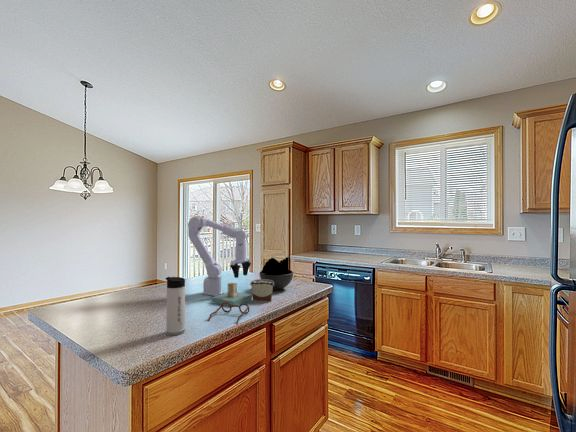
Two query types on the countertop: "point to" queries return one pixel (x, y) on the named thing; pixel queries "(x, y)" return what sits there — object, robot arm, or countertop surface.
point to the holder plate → (232, 299)
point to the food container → (262, 290)
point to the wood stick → (232, 290)
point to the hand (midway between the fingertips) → (240, 276)
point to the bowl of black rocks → (277, 272)
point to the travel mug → (175, 306)
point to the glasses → (230, 310)
